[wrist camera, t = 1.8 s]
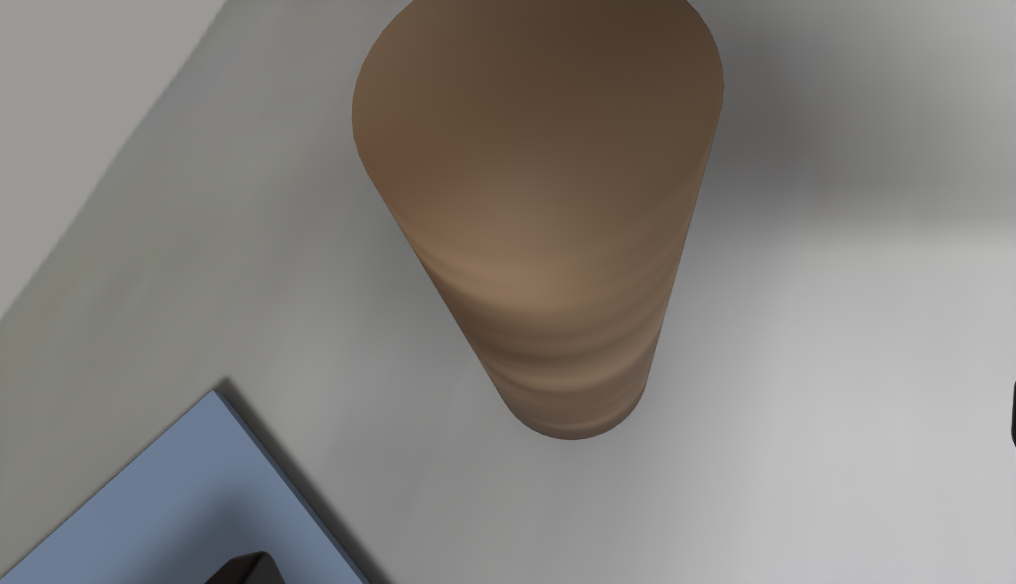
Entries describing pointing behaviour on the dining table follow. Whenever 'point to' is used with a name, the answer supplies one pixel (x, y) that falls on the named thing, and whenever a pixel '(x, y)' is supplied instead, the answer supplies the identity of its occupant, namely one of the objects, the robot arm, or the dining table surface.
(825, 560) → the dining table surface
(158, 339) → the dining table surface
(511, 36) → the walnut column
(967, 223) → the dining table surface
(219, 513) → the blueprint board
